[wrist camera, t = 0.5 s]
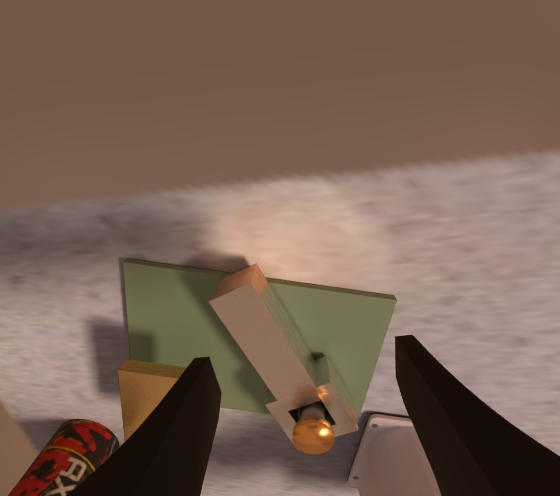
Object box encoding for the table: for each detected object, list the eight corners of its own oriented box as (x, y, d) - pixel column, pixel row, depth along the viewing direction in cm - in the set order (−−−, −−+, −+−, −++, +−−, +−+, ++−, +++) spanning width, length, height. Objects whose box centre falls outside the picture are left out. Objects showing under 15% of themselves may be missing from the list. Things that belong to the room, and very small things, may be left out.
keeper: (197, 411, 27) (180, 461, 23) (151, 404, 27) (126, 454, 23) (200, 335, 24) (180, 379, 20) (147, 327, 24) (117, 370, 20)
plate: (354, 419, 27) (355, 426, 27) (136, 389, 27) (133, 395, 27) (394, 295, 22) (396, 300, 22) (127, 258, 22) (122, 262, 22)
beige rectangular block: (352, 400, 25) (358, 430, 23) (296, 418, 26) (296, 448, 24) (269, 257, 21) (265, 276, 18) (205, 286, 22) (194, 307, 20)
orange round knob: (325, 400, 26) (330, 456, 22) (290, 396, 26) (289, 451, 22) (331, 374, 25) (338, 428, 21) (296, 369, 25) (295, 422, 21)
